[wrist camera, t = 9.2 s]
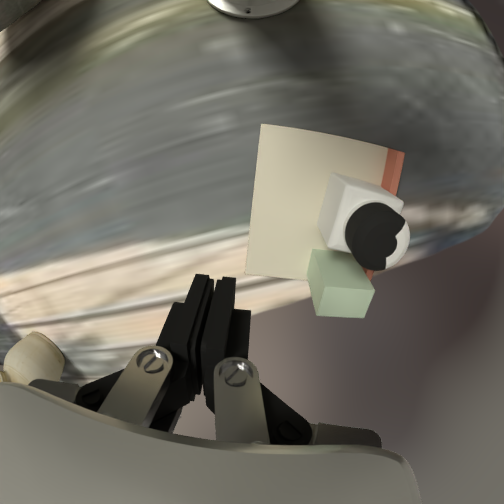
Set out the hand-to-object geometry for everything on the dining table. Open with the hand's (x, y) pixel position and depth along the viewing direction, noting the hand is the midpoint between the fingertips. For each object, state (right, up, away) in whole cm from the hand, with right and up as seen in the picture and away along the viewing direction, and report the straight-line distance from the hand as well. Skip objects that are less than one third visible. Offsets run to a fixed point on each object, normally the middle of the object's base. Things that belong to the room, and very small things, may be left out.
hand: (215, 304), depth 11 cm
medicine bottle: (+14, +8, +22) cm, 27 cm away
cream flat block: (+10, +7, +22) cm, 26 cm away
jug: (-51, -23, +40) cm, 69 cm away
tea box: (+12, +1, +25) cm, 28 cm away
